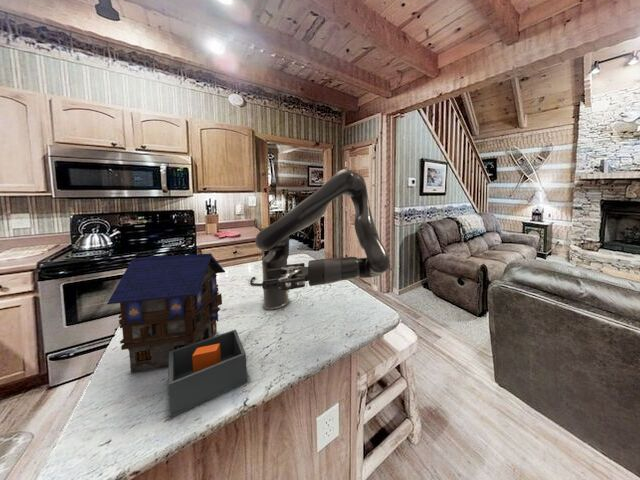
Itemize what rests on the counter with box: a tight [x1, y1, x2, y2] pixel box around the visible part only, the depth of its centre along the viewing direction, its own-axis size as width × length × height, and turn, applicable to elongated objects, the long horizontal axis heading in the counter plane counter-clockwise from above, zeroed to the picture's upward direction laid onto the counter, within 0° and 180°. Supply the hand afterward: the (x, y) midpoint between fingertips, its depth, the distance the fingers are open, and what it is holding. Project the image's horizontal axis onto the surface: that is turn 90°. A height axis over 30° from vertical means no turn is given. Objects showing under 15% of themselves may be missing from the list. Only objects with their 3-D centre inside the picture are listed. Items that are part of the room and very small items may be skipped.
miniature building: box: [106, 252, 226, 374], centre depth 76 cm, size 19×21×30 cm
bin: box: [167, 329, 248, 418], centre depth 66 cm, size 15×15×8 cm
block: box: [192, 343, 221, 373], centre depth 66 cm, size 3×5×8 cm, turn 113°
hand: (264, 279), depth 71 cm, fingers open, 8 cm apart
